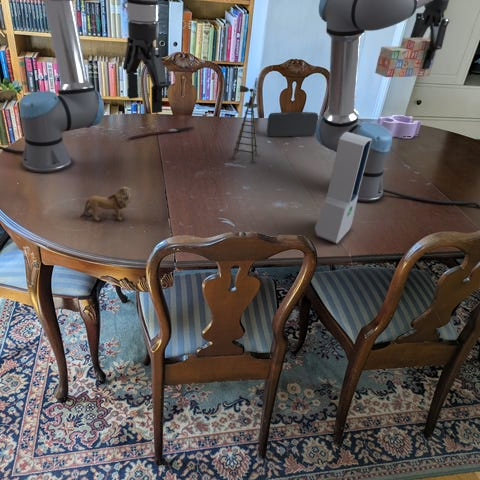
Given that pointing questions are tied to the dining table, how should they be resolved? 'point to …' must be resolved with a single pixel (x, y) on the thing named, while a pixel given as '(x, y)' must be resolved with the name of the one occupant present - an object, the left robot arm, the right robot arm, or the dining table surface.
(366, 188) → the right robot arm
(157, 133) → the sword
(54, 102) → the left robot arm
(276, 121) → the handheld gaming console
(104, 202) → the lion figurine
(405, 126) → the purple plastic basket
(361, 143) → the electronic device
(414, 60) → the stack of blocks
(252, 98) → the miniature windmill
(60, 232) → the dining table surface
